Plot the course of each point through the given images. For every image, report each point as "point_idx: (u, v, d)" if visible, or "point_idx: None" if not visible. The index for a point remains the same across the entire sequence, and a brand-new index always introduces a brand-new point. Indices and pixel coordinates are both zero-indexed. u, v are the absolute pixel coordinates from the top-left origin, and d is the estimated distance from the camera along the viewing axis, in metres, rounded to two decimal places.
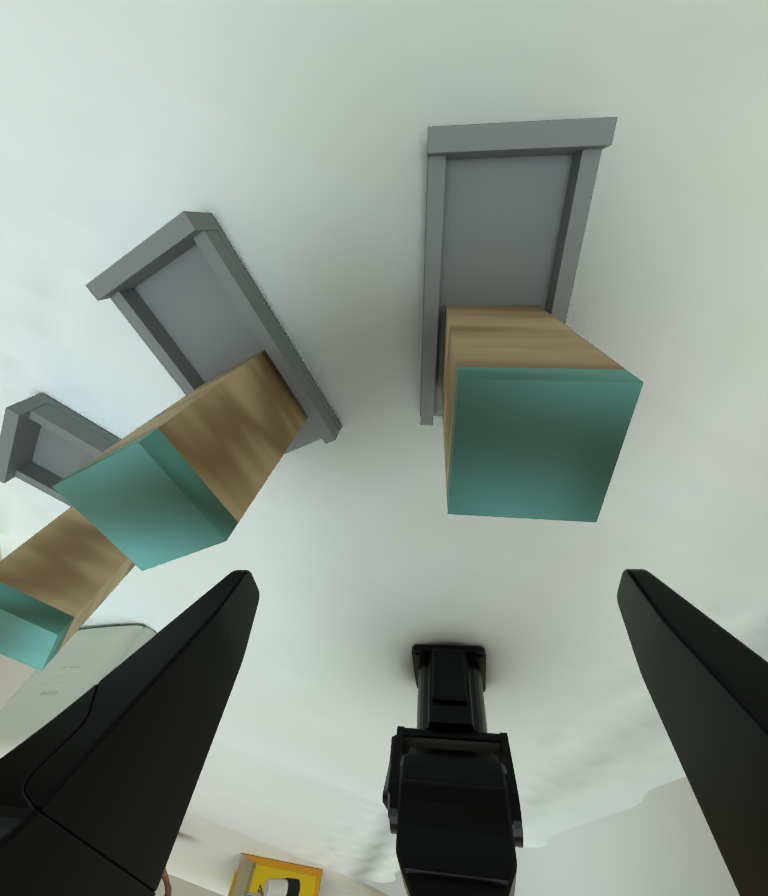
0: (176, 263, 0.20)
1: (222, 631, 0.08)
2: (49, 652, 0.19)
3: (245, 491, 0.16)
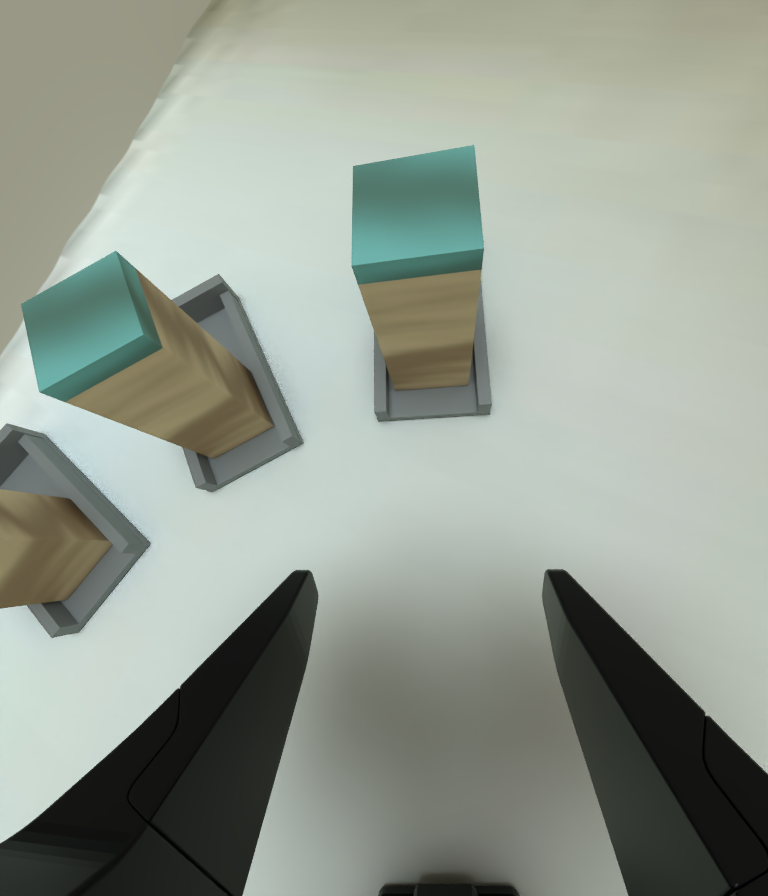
0: (203, 322, 0.28)
1: (292, 633, 0.08)
2: None
3: (182, 355, 0.16)
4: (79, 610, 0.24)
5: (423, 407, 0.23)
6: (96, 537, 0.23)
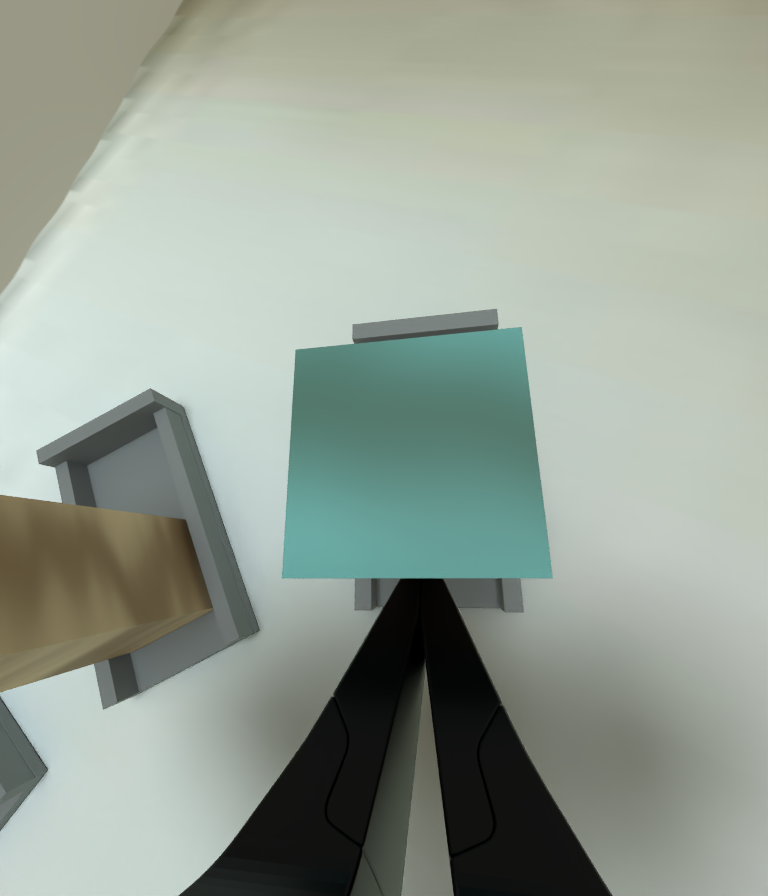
0: (135, 442, 0.21)
1: (420, 636, 0.08)
2: None
3: (21, 630, 0.10)
4: None
5: None
6: None
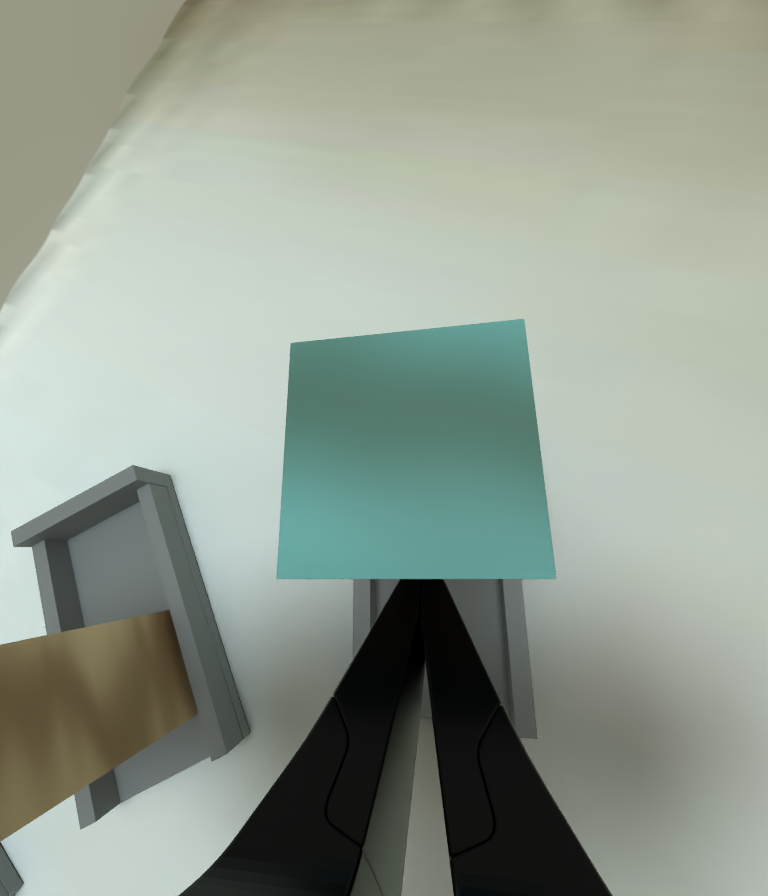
0: (118, 516, 0.20)
1: (420, 636, 0.08)
2: None
3: None
4: None
5: (428, 702, 0.15)
6: None
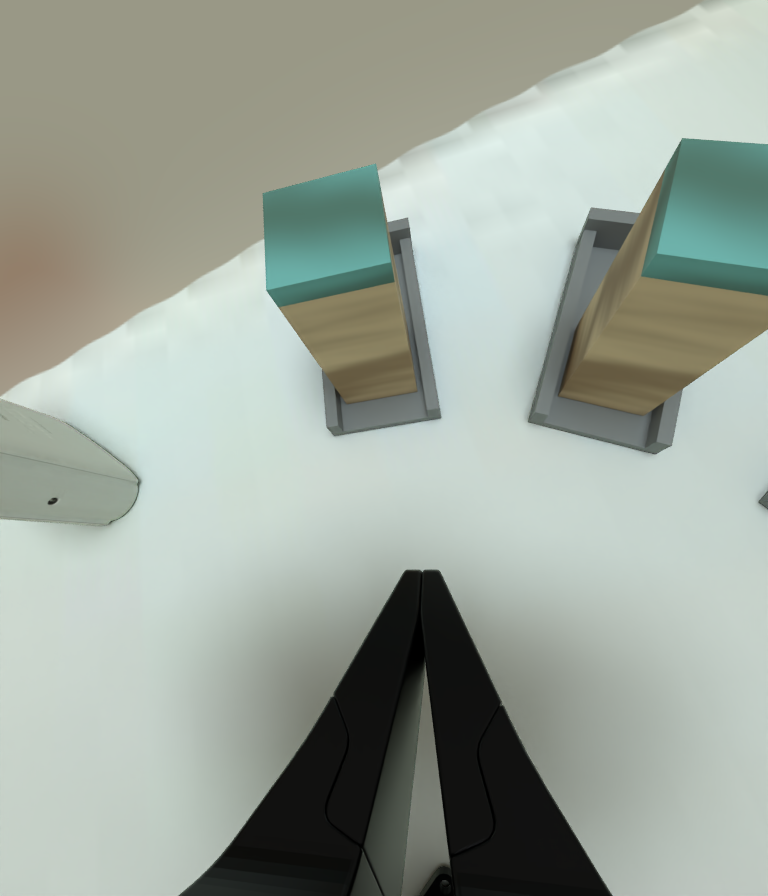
0: None
1: (420, 637, 0.08)
2: (331, 275, 0.13)
3: None
4: (350, 421, 0.24)
5: None
6: None
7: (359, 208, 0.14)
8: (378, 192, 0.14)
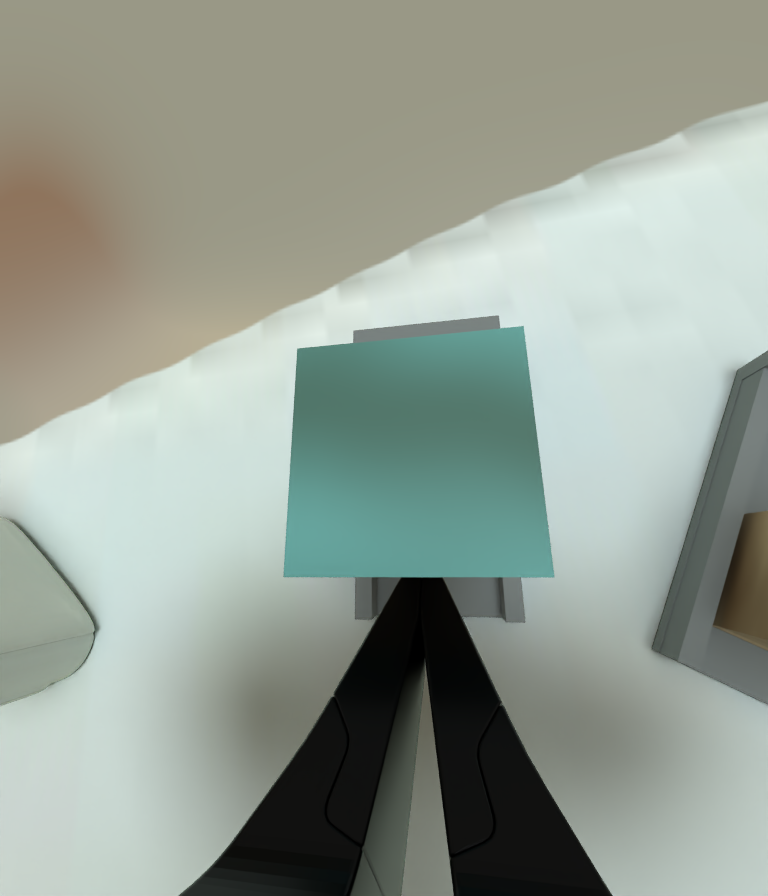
0: None
1: (420, 636, 0.08)
2: (419, 575, 0.06)
3: None
4: None
5: None
6: None
7: (486, 423, 0.07)
8: (527, 393, 0.07)
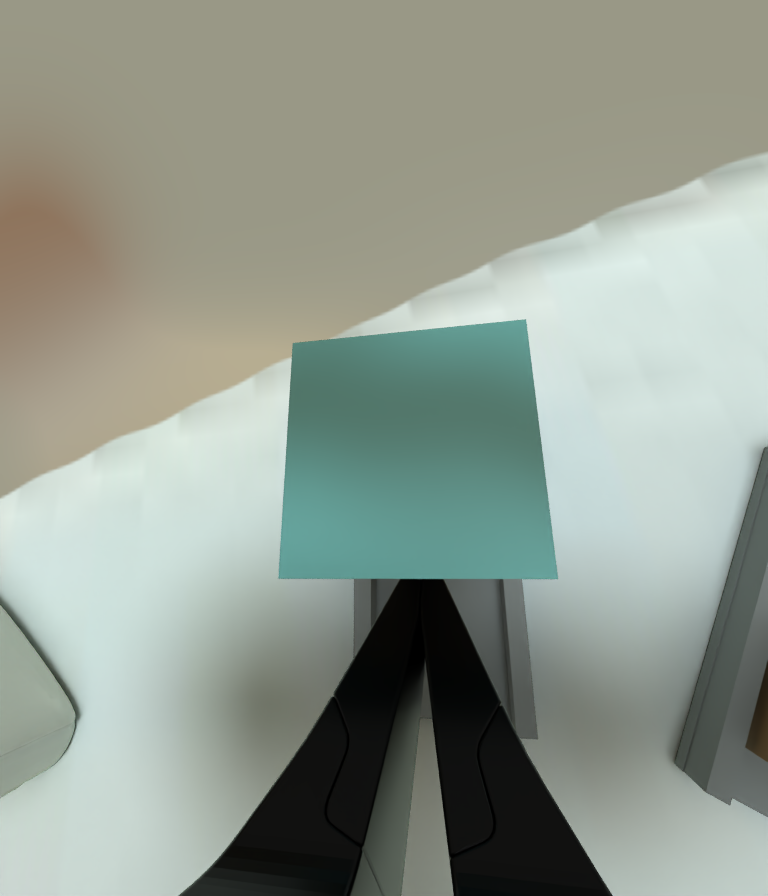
0: None
1: (420, 637, 0.08)
2: (418, 576, 0.06)
3: None
4: None
5: None
6: None
7: (487, 420, 0.07)
8: (530, 388, 0.07)
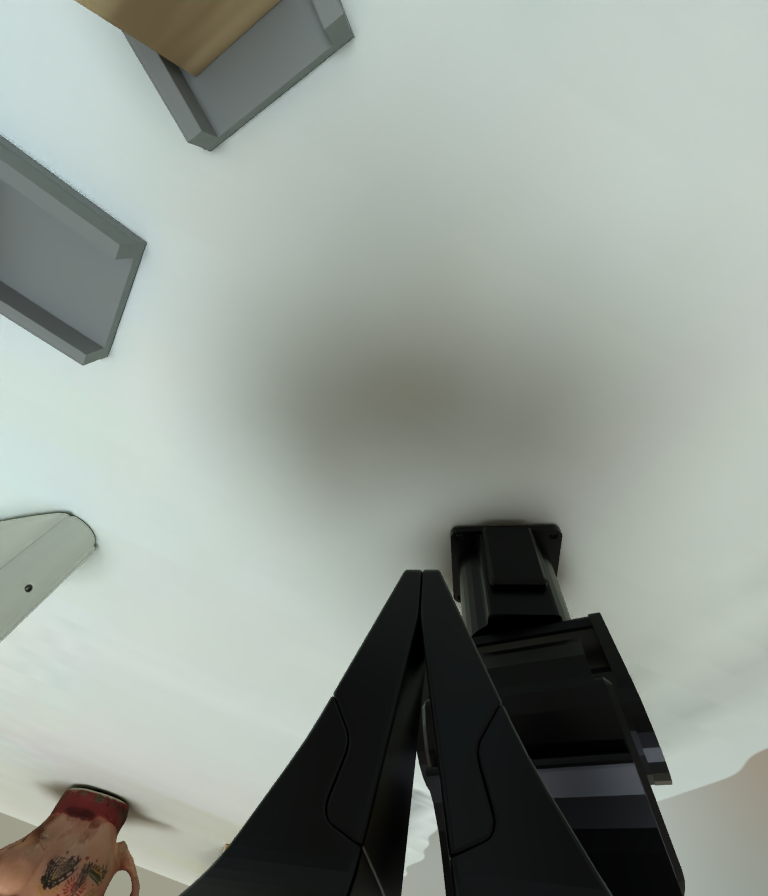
0: None
1: (420, 636, 0.08)
2: None
3: None
4: (95, 333, 0.19)
5: None
6: None
7: None
8: None
